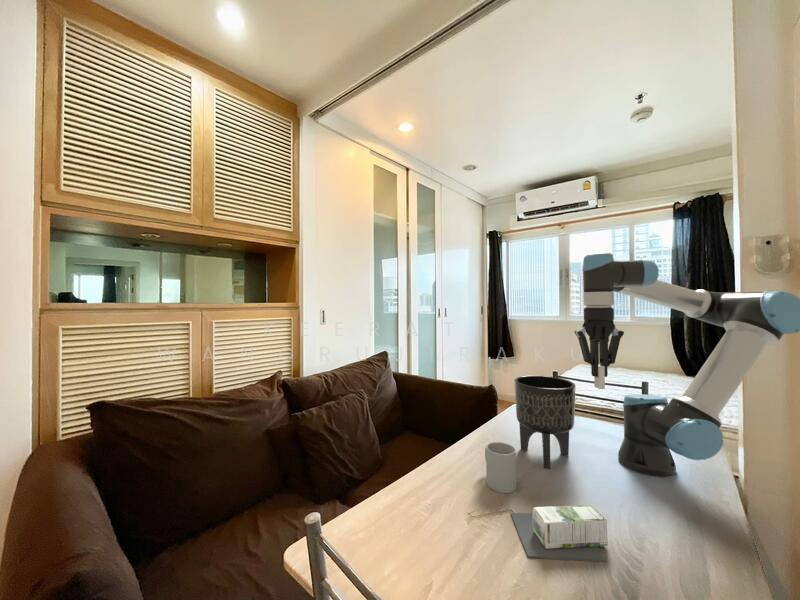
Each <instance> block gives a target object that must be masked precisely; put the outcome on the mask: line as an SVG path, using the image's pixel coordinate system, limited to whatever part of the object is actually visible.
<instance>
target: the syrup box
mask: <svg viewBox="0 0 800 600" xmlns="http://www.w3.org/2000/svg"><path fill="white" fill-rule="evenodd" d="M532 514H533V530H534V532H535V534H536V535H537V537H538V538H539V539H540V541H541V542H542V544H543V545H544V547H545V548H572V547H595V546H597V547H608V545H609V540H608V524H607V522H608V521H607V519H606V518H605V517H604V516H603V515H602V514H601V513H599V511H598V510H596V509H595V508H594V507H593V506H592V505H591V504H586V505H585V504H584V505H583V504H582V505H559V506H557V505H556V506H555V505H553V506H536V507H535V506H534V507H533V509H532Z"/></svg>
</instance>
